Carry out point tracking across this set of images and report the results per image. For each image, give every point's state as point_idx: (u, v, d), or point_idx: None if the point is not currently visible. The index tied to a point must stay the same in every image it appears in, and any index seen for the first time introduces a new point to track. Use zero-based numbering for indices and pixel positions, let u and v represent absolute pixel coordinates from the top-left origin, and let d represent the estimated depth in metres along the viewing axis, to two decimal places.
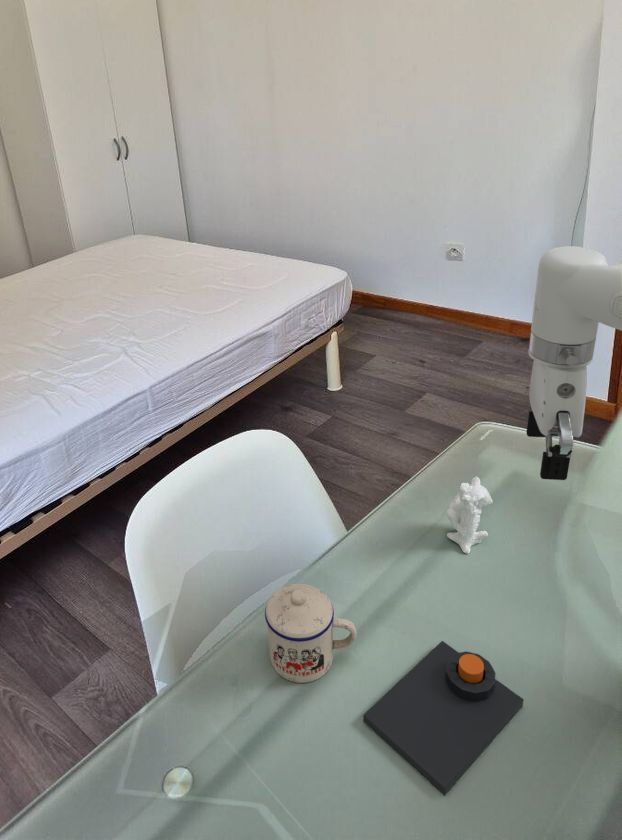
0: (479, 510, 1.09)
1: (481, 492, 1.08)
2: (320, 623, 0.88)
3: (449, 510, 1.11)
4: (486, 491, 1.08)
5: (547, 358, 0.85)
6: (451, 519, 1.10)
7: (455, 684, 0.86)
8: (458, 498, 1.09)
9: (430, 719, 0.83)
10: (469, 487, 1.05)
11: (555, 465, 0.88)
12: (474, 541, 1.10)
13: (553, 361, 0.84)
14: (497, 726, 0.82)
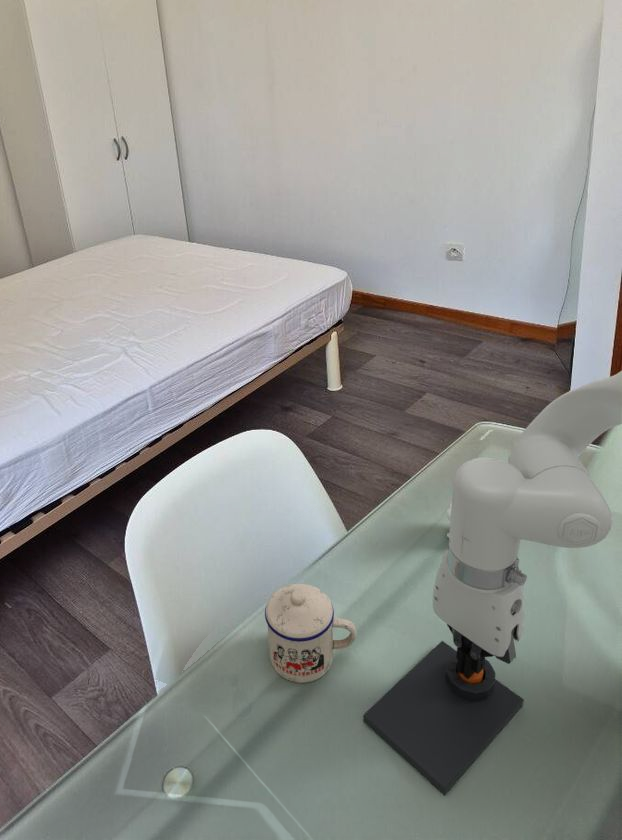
0: None
1: None
2: (320, 623, 0.88)
3: (449, 510, 1.11)
4: None
5: (493, 586, 0.76)
6: None
7: (455, 684, 0.86)
8: None
9: (430, 719, 0.83)
10: None
11: (480, 661, 0.84)
12: None
13: (500, 586, 0.76)
14: (497, 726, 0.82)
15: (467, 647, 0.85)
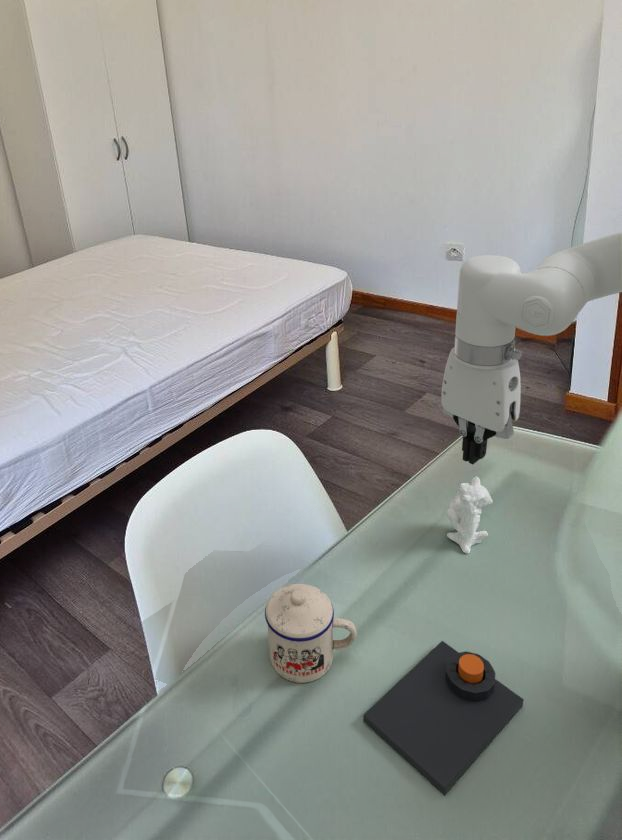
0: (479, 510, 1.09)
1: (481, 492, 1.08)
2: (320, 623, 0.88)
3: (449, 510, 1.11)
4: (486, 491, 1.08)
5: (494, 362, 0.89)
6: (451, 519, 1.10)
7: (455, 684, 0.86)
8: (458, 498, 1.09)
9: (430, 719, 0.83)
10: (469, 487, 1.05)
11: (483, 447, 0.98)
12: (474, 541, 1.10)
13: (499, 362, 0.90)
14: (497, 726, 0.82)
15: (471, 436, 0.99)
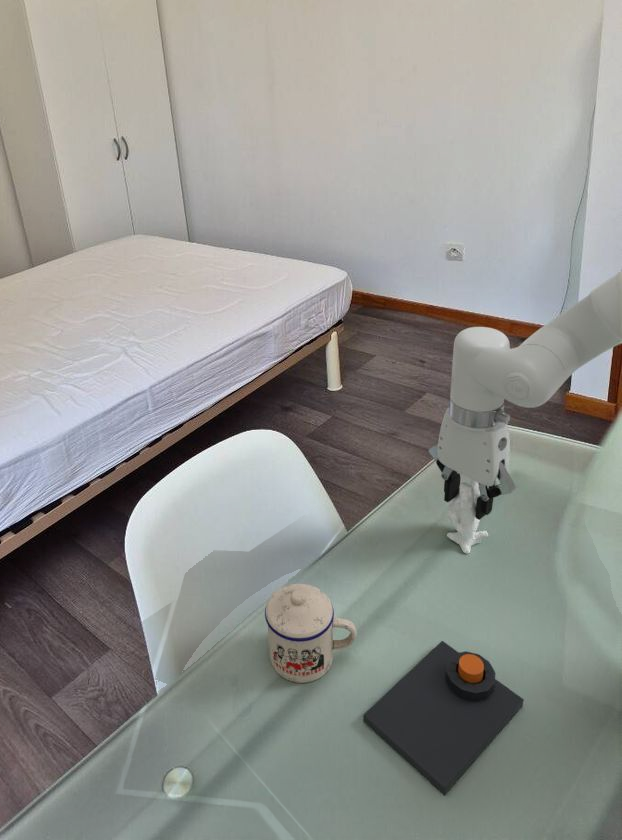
0: None
1: None
2: (320, 623, 0.88)
3: (449, 510, 1.11)
4: None
5: (484, 425, 0.98)
6: (451, 519, 1.10)
7: (455, 684, 0.86)
8: (458, 498, 1.09)
9: (430, 719, 0.83)
10: (469, 487, 1.05)
11: (489, 504, 1.05)
12: (474, 541, 1.10)
13: (490, 425, 0.98)
14: (497, 726, 0.82)
15: (452, 479, 1.09)
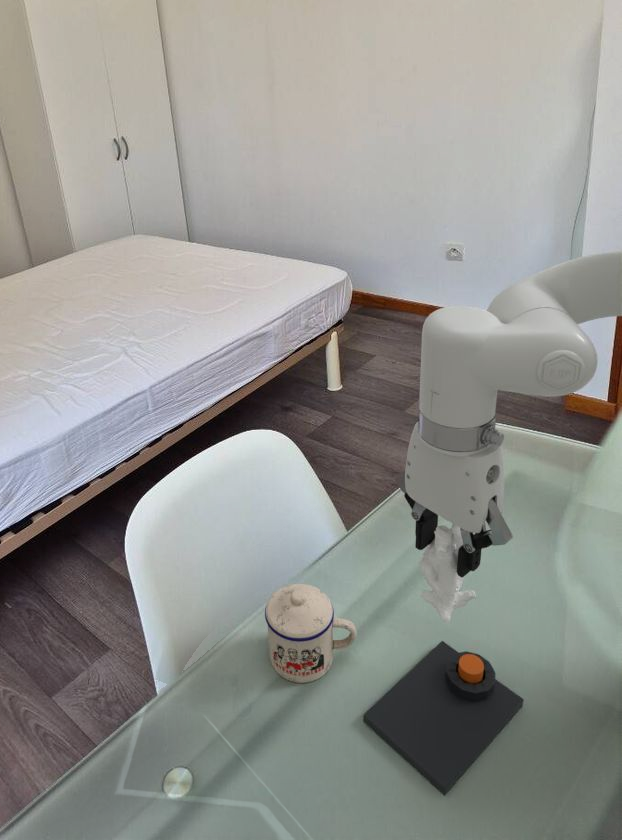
0: None
1: None
2: (320, 623, 0.88)
3: (423, 561, 0.81)
4: None
5: (467, 447, 0.68)
6: (425, 574, 0.80)
7: (455, 684, 0.86)
8: (434, 545, 0.79)
9: (430, 719, 0.83)
10: (448, 532, 0.75)
11: (475, 556, 0.75)
12: (457, 604, 0.80)
13: (474, 448, 0.68)
14: (497, 726, 0.82)
15: (426, 520, 0.79)
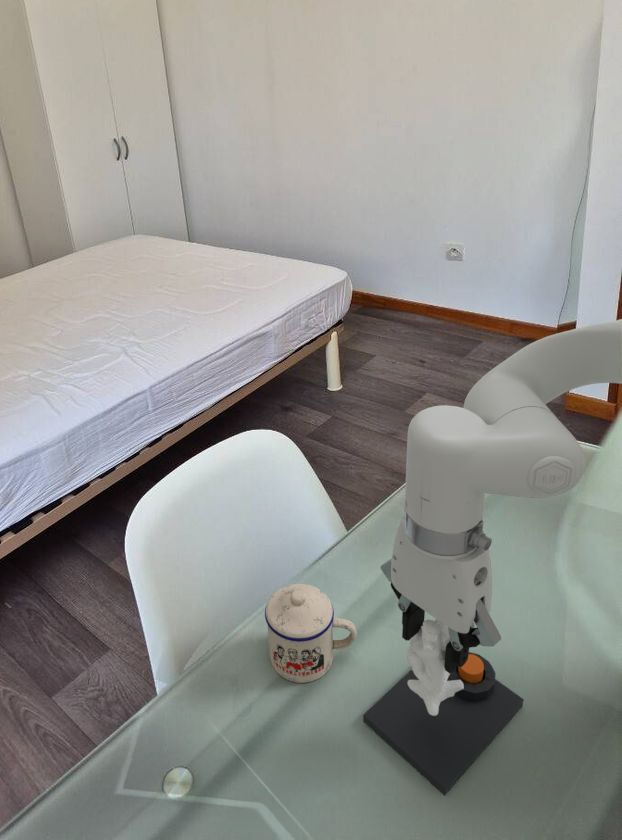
0: None
1: None
2: (320, 623, 0.88)
3: (410, 651, 0.79)
4: None
5: (454, 551, 0.66)
6: (412, 665, 0.78)
7: None
8: (421, 637, 0.77)
9: (430, 719, 0.83)
10: (435, 628, 0.74)
11: (463, 652, 0.73)
12: (445, 695, 0.79)
13: (461, 551, 0.66)
14: (497, 726, 0.82)
15: (412, 611, 0.77)
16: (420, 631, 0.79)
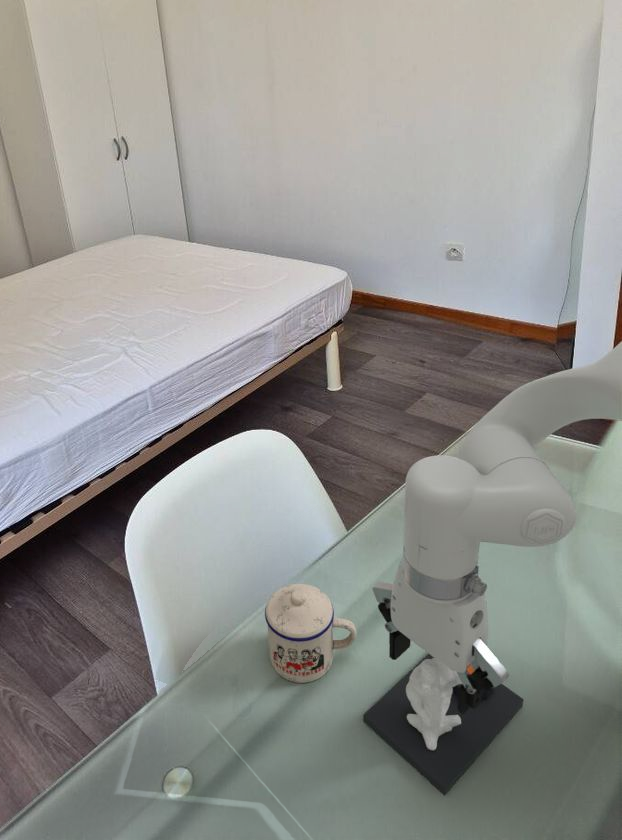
0: (449, 691, 0.80)
1: None
2: (320, 623, 0.88)
3: (409, 686, 0.82)
4: None
5: (450, 596, 0.69)
6: (411, 701, 0.81)
7: None
8: (420, 674, 0.80)
9: None
10: (434, 668, 0.76)
11: (476, 695, 0.74)
12: (443, 730, 0.81)
13: (458, 596, 0.69)
14: (497, 726, 0.82)
15: (399, 632, 0.81)
16: (419, 668, 0.81)
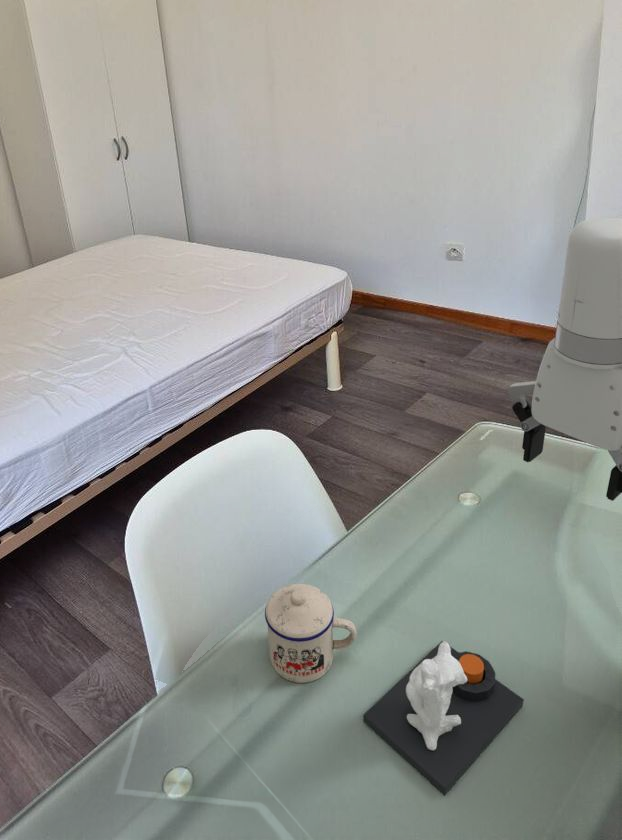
0: (449, 691, 0.80)
1: (451, 669, 0.79)
2: (320, 623, 0.88)
3: (409, 686, 0.82)
4: (459, 666, 0.79)
5: (614, 359, 0.67)
6: (411, 701, 0.81)
7: None
8: (420, 674, 0.80)
9: None
10: (434, 668, 0.76)
11: None
12: (443, 730, 0.81)
13: (621, 360, 0.67)
14: (497, 726, 0.82)
15: (535, 430, 0.79)
16: (419, 668, 0.81)
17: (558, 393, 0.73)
